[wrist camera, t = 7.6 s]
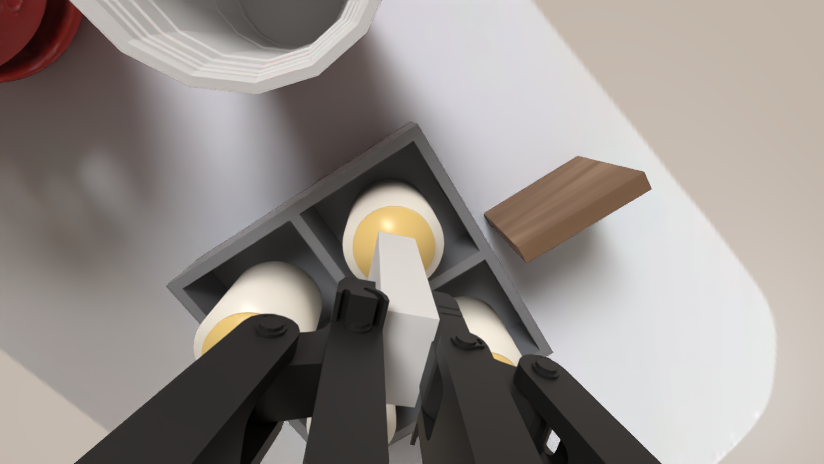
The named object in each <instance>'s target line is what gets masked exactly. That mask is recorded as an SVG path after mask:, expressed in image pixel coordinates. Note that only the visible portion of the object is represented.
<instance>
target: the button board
mask: <svg viewBox="0 0 824 464" xmlns="http://www.w3.org/2000/svg"><path fill="white" fill-rule="evenodd" d="M382 179H400V180H403V181H406V182H409V183H411V184H412V185H414V186H415V187H417V188H418V189H419V190H420V191H421V192H422V193H423V194H424V196H425V197H426V199H427V201H428V202H429V204H430V206H431V208H432V210H433V212H434V214H435V216H436V218H437V219H438V221H439V223H440V225H441V228H442V231H443V236H444V250H443V255H442V258H441V261H440V263H439V265H438V267H437V268H436V270H435V271H434V272H433V274H432V275H431V276H430V277H429V278H428V279H427V280H428V283H429V286H430V289H431V291H436V292H442V293H447V294H449V295H450V296H451V297H452V298H454V297H460V296H468V297H474V298H478V299H480V300H483V301H484V302H486V303H488V304H489V305H490V306H491V307H492V308H493V309H494V310H495V311H496V312H497V314H498V316H499V317H500V319H501V321H502V323H503V324H504V326H505V328H506V329H507V331H508V333H509V335H510V336H511V338H512V340H513V342H514V343H515V345H516V347H517V348H518V350H519V352H520V354H521V355H522V356H523V355H528V354H533V355H541V356H544V357H546V356H548V355H550V354H552V353H553V351H552V350H551V348H550V346H549V345H548V343H547V341H546V339H545V338H544V336H543V334H542V333H541V331H540V329H539V328H538V326H537V324H536V323H535V321H534V319H533V318H532V316H531V314H530V313H529V311H528V309H527V307H526V306H525V304H524V302H523V301H522V299H521V297H520V296H519V294H518V292H517V291H516V289H515V287H514V286H513V284H512V282H511V281H510V279H509V277H508V275H507V274H506V272H505V270H504V269H503V267H502V265H501V264H500V262H499V260H498V259H497V257H496V255H495V254H494V252H493V250H492V249H491V247H490V245H489V243H488V242H487V240H486V238H485V237H484V235H483V233H482V232H481V230H480V228H479V227H478V225H477V223H476V222H475V220H474V218H473V217H472V215H471V213H470V212H469V210H468V208H467V206H466V205H465V203H464V201H463V200H462V198H461V196H460V195H459V193H458V191H457V190H456V188H455V186H454V185H453V183H452V181H451V180H450V178H449V176H448V174H447V173H446V171H445V169H444V168H443V166H442V164H441V163H440V161H439V159H438V158H437V156H436V154H435V153H434V151H433V149H432V148H431V146H430V144H429V142H428V141H427V139H426V137H425V136H424V134H423V132H422V131H421V129H420V127H419V126H418V124H416V123H413V122H409V123H408V124H406V125H405V126H403V127H402V128H400V129H399V130H397V131H396V132H394V133H392V134H391V135H389V136H388V137H386V138H385V139H383V140H382V141H380V142H378V143H377V144H375V145H374V146H372V147H371V148H369V149H368V150H366V151H364V152H363V153H361V154H360V155H358V156H357V157H355V158H354V159H352V160H351V161H349V162H347V163H346V164H344V165H343V166H341V167H340V168H338V169H337V170H335V171H333V172H332V173H330V174H329V175H327V176H326V177H324V178H323V179H321V180H319V181H318V182H316V183H315V184H313V185H312V186H310V187H309V188H307V189H305V190H304V191H302V192H301V193H299V194H298V195H296V196H295V197H293V198H292V199H290V200H288V201H287V202H285V203H284V204H282V205H281V206H279V207H278V208H276V209H274V210H273V211H271V212H270V213H268V214H267V215H265V216H264V217H262V218H260V219H259V220H257V221H256V222H254V223H253V224H251V225H250V226H248V227H247V228H245V229H243V230H242V231H240V232H239V233H237V234H236V235H234V236H233V237H231V238H229V239H228V240H226V241H225V242H223V243H222V244H220V245H219V246H217V247H215V248H214V249H212V250H211V251H209V252H208V253H206V254H205V255H203V256H202V257H200V258H199V259H198V260H196V261H195V262H194V263H193V264H192V265H190V266H189V267H188V268H187V269H186V270H184V271H183V272H182V273H181V274H180V275H178V276H177V277H176V278H175V279H174V280H172V281H171V282H170V283H169V284H168V285H166V287H167V288H168V289H169V290H170V291H171V292H172V293H173V295H174V296H175V297H176V298H177V299H178V300H179V301H180V302H181V303H182V305H183V306H184V307H185V308H186V309H187V310H188V311H189V312H190V313H191V315H192V316H193V317H194V318H195V319H196V320H197V321H198V322H199V323H200V324H201V323H202V322H203V321H204V319H205V318H206V317H207V316H208V314H209V313H210V312H211V311H212V310H213V308H214V307H215V306H216V305H217V304H218V302H219V301H220V300H221V299H222V298H223V296H224V295H225V294H226V293H227V291H228V290H229V289H230V288H231V287H232V285H233V284H234V283H235V282H236V281H237V279H238V278H239V277H240V276H241V275H242V274H243V273H244V272H245V271H246V270H248V269H249V268H251V267H252V266H254V265H257V264H259V263H263V262H269V261H280V262H286V263H290V264H293V265H295V266H297V267H299V268H301V269H303V270H304V271H306V272H307V273H308V274H309V275H310V276H311V277H312V278H313V279H314V281H315V282H316V284H317V285H318V287H319V289H320V292H321V296H322V311H321V315H320V318H319V322H318V325H317V329H316V330H320V329H322V328H324V327H326V326H327V325H328V324H329V323H330V321H331V316H332V311H333V306H334V301H335V296H336V291H337V287H338V282H339V281H340V280H342V279H343V278H345V277H351V278H357V277H356V276H355V275H354V274H353V273H352V271H351V270H350V268H349V267H348V265H347V262H346V260H345V257H344V253H343V236H344V232H345V228H346V224H347V221H348V217H349V214H350V210H351V207H352V204H353V202H354V200H355V198H356V196H357V195H358V194H359V193H360V192H361V191H362V190H363V189H364V188H365V187H366V186H368V185H369V184H371V183H373V182H376V181H378V180H382ZM357 279H358V278H357ZM420 406H421V396H420V391H419V394H418V398H417V401H416V405H415V408H414V407H406V406H399V405H395V409H396V430H395V433H394V436H393V438H392V440H391V441H390V443H389V444H388V446H389V445H391V444H393V443H395V442H396V441H398V440H400V439H402V438H403V437H405V436H407V435H409V434H410V433H412V432H413V430H414V427H415V423H416V420H417V416H418V413H419V409H420ZM287 421H288V422H289V423H290V424H291V425H292V427H293V428H294V429H295V430H296V431H297V432H298V433H299V434H300V435H301V437H302V438H303V439H304V440H305V441H306V442H307V439H308V433H307V425H306V424H307V418H303V419H295V420H287Z"/></svg>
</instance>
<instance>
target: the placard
mask: <svg viewBox="0 0 824 464" xmlns="http://www.w3.org/2000/svg"><path fill="white" fill-rule="evenodd" d="M651 189H652V188H651V186H650V184H649V182H648V179H647V177H646V175H645V172H643V171H639V170H634V169H630V168H626V167H622V166H618V165H613V164H609V163H605V162H601V161H596V160H592V159H588V158H584V157H580V156H577V157H575V158H574V159H572V160H570V161H569V162H567V163H565V164H564V165H562V166H560V167H559V168H557V169H556V170H554V171H552V172H551V173H549V174H547V175H546V176H544V177H542V178H541V179H539V180H538V181H536V182H534V183H533V184H531V185H529V186H528V187H526V188H524V189H523V190H521V191H520V192H518V193H516V194H515V195H513V196H511V197H510V198H508V199H506V200H505V201H503V202H502V203H500V204H498V205H497V206H495V207H493V208H492V209H490V210H488V211H487V212H485V213H484V215H485V216H486V218H487V220H488V222H489V223H490V225H491V226H492V227H493V228H494V229H495V230H496V231H497V233H498V234H499V235H500V236H501V237H502V238H503V239H504V240H505V241H506V242H507V243H508V244H509V245H510V246H511V247H512V248H513V249H514V250H515V251H516V252H517V253H518V254H519V255H520V256H521V258H522V259H523V260H524V261H525V262H526V263H528V262H530V261H531V260H533V259H535V258H536V257H538V256H540V255H541V254H543V253H545V252H546V251H548V250H550V249H552V248H553V247H555V246H557V245H558V244H560V243H562V242H563V241H565V240H567V239H568V238H570V237H572V236H573V235H575V234H577V233H579V232H580V231H582V230H584V229H585V228H587V227H589V226H590V225H592V224H594V223H595V222H597V221H599V220H601V219H602V218H604V217H606V216H607V215H609V214H611V213H612V212H614V211H616V210H617V209H619V208H621V207H622V206H624V205H626V204H628V203H629V202H631V201H633V200H634V199H636V198H638V197H639V196H641V195H643V194H644V193H646V192H648V191H650V190H651Z"/></svg>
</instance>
